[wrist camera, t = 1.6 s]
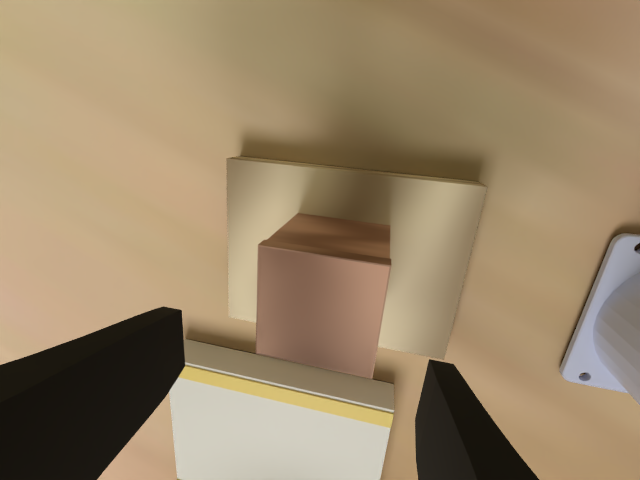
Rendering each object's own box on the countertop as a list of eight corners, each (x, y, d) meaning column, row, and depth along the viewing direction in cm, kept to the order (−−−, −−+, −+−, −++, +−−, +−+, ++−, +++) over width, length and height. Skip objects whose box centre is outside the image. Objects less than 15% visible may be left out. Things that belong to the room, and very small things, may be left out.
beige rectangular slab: (479, 181, 15) (487, 187, 14) (439, 342, 18) (443, 359, 17) (239, 156, 17) (226, 158, 16) (240, 304, 20) (228, 317, 19)
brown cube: (391, 224, 15) (391, 265, 11) (377, 310, 17) (372, 378, 12) (296, 211, 16) (257, 244, 11) (291, 294, 17) (255, 353, 13)
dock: (394, 383, 20) (394, 411, 18) (368, 514, 24) (366, 548, 22) (185, 339, 22) (165, 358, 20) (193, 464, 26) (177, 491, 24)
